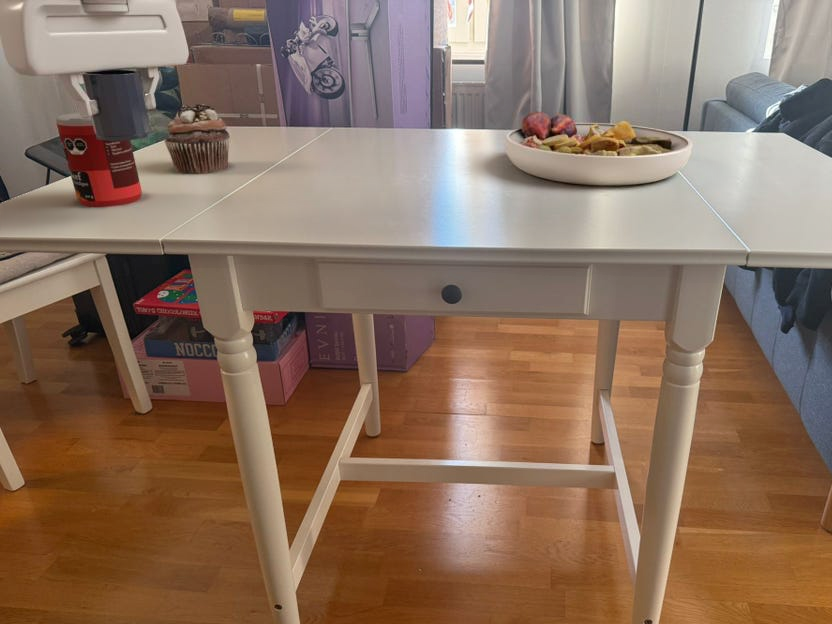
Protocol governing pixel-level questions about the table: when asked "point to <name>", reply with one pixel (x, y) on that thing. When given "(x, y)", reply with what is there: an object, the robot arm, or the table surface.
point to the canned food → (98, 164)
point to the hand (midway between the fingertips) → (119, 112)
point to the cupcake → (198, 140)
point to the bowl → (595, 151)
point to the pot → (118, 104)
